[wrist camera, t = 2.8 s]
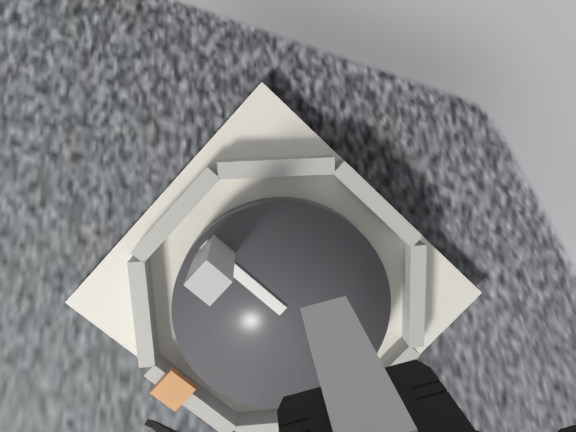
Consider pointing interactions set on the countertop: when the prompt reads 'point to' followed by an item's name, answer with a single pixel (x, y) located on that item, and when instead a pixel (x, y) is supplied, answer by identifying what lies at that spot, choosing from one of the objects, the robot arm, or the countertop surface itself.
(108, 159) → the countertop surface
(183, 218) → the panel
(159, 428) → the tomahawk
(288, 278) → the dial
